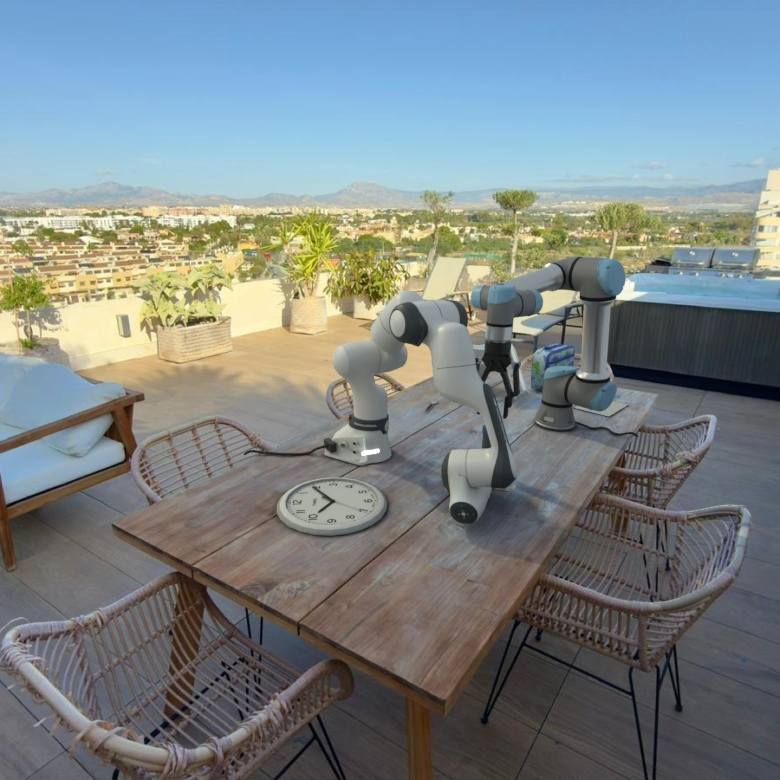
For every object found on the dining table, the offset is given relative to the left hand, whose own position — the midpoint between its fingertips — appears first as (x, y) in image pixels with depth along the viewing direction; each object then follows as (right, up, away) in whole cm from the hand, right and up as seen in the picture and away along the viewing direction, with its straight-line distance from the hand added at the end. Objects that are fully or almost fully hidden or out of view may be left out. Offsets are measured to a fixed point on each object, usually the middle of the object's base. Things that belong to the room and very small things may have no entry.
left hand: (484, 464), depth 155 cm
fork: (-11, +15, +68) cm, 71 cm away
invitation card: (+63, +15, +71) cm, 97 cm away
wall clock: (-44, -9, -12) cm, 46 cm away
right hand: (+3, +15, +2) cm, 15 cm away
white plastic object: (+14, +21, +88) cm, 92 cm away
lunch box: (+49, +23, +97) cm, 111 cm away
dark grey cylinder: (+2, -4, +8) cm, 9 cm away
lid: (+2, +11, +3) cm, 11 cm away
